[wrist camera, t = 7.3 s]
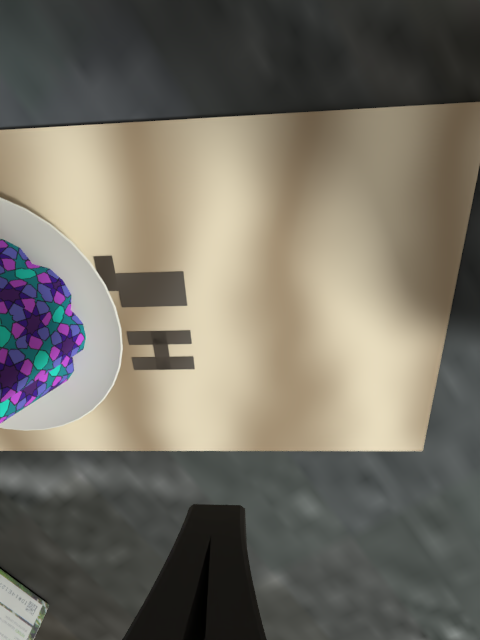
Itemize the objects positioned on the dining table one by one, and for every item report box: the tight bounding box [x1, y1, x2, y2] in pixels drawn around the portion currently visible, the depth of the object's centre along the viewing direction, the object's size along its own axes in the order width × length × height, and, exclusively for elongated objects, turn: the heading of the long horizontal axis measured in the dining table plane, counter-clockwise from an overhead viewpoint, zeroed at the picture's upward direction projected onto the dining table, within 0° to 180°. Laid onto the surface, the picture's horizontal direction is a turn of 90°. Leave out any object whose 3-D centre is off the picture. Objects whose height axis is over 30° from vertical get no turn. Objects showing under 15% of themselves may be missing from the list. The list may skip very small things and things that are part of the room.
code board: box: [0, 102, 480, 451], centre depth 18 cm, size 28×16×1 cm, turn 93°
